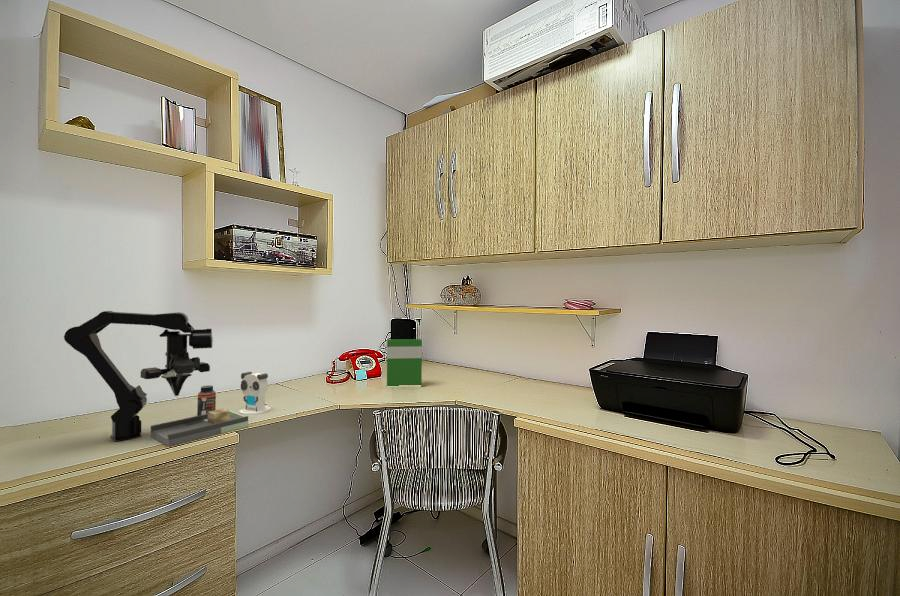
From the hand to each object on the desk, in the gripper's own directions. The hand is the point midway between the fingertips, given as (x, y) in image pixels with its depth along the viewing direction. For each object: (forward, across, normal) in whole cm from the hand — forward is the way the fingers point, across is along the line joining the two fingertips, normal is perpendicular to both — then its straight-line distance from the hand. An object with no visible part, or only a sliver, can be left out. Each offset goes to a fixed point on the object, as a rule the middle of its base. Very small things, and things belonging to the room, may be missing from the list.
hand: (176, 395), depth 134 cm
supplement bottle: (+12, +14, +11) cm, 22 cm away
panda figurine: (+12, +29, +4) cm, 32 cm away
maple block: (+10, +10, -7) cm, 16 cm away
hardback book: (+12, +99, -13) cm, 101 cm away
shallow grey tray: (+12, +5, -7) cm, 15 cm away
